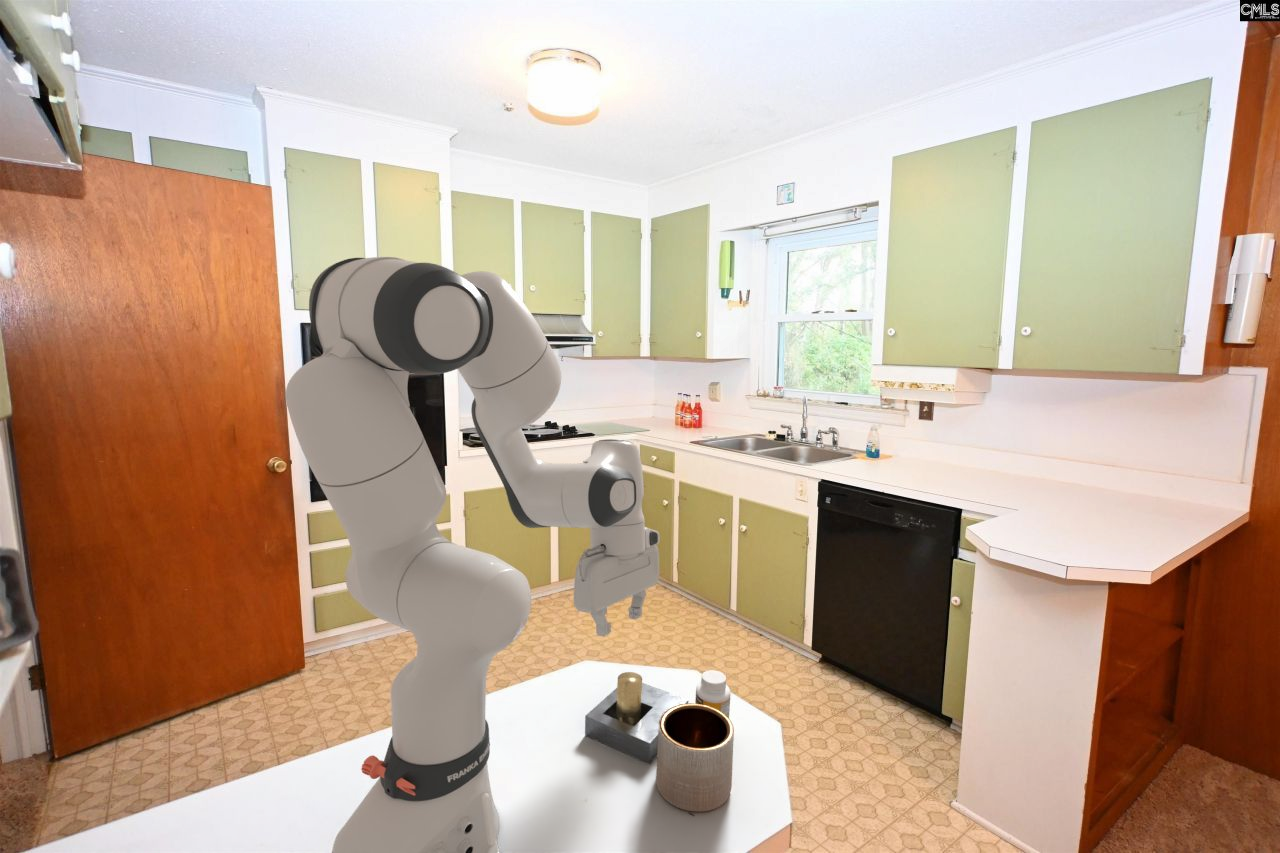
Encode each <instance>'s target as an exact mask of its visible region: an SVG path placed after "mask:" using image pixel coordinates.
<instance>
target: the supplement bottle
mask: <svg viewBox="0 0 1280 853" xmlns="http://www.w3.org/2000/svg"><path fill="white" fill-rule="evenodd" d="M694 704H702V705H707V706H710V707H713V708H715V709H717V710H719V711H721V712H722V713H724V714H725V715H726V716H727V717H728V718H729V719H730V710H731V708H730V707H731V689H730V687H729V686H728V685H727V676H726V674H725V673H723V672H721V671H719V670H714V669H713V670H711V669H709V670H706V671H704V672H703V673H702V675H701V680H700V682H699V683H698V684H697V685H696V689H695V702H694Z"/></svg>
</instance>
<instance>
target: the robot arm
mask: <svg viewBox="0 0 1280 853" xmlns="http://www.w3.org/2000/svg"><path fill="white" fill-rule="evenodd" d="M311 286H312V287H311V290H310V293H309V300H308V311H309V313H308V314H309V321H310V324H309V325H310V328H309V338H308V340H309V341H308V343H309V347H310V349H311V351H312V352H313V353H314V354H315V355H316V356H317V357H315V358H313V359H311V360H310V361H307V362H306V363H305V364H303V365H302V366H301V367H300V368H299V369H297V370H296V372H294V373H293V375H292V376H291V377H290V379H289V381H288V383H287V385H286V389H285V403H286V406H287V411H288V414H289V418H290V421H291V424H292V427H293V430H294V432H295V435H296V438H297V440H298V444H299V446H300V449H301V451H302V453H303V455H304V458H305V460H306V462H307V464H308V466H309V467H310V469H311V472H312V474H313V475H314V477H315V479H316V481H317V483H318V484H319V486H320V489H321V490H322V492H323V494H324V495H325V497H326V500H327V501H328V503H329V504H330V506H331V509H333V510H332V511H333V512H334V514H335V516H336V517H337V519H338V521H339V523H340V525H341V527H342V528H343V530H344V532H345V535H346V537H347V539H348V543H349V545H350V550H351V555H350V558H349V561H348V563H347V566H346V570H345V571H346V572H345V584H346V588H347V591H348V593H349V594H350V596H351V597H352V598H353V599H354V600H355V601H356V602H357V603H358V604H359V605H360V606H362V607H363V608H364V609H365V610H366V611H367V612H369V613H370V614H371V615H373V616H374V617H375V618H378V619H380V620H382V621H385V622H387V623H389V624H392V625H394V626H397V627H399V628H401V629H403V630H406V631H409V632H411V633H412V635H413V637H414V639H415V641H416V646H417V647H416V648H417V649H416V650H417V651H416V657H414V658H413V659H411V660H410V661H409V662H407V664H405V665H404V666H403V667H402V668H400V670H399V671H398V673H397V674H396V675H395V677H394V679H393V681H392V683H391V687H390V710H391V713H390V714H391V733H392V734H391V738H390V741H389V743H388V746H387V750H386V753H385V756H384V760H380V758H378V757H377V756H375V755H369V756H368V757H367V758H365V760H364V761H363V764H362V765H361V768H360V770H361V772H362V774H364V775H366V776H369V777H370V778H371V779H372V780H376V779H378V780H376V782H375V783H374V785H372V787H371V788H370V790H368V792H367V794H366V795H365V796H364V798H363V799H362V800H361V802H360V803H359V805H358V806H357V808H355V810H354V811H353V813H352V814H351V815H350V817H349V818H348V819H347V821H346V822H345V824H343V826H342V827H341V828H340V830H339V831H338V833H337V835H336V837H335V838H334V839H335V840H334V841H333V842H334V843H333V846H332V849H331V853H500V849H499V844H498V838H499V833H500V828H501V823H500V822H501V821H500V815H499V812H498V810H497V807H496V804H495V802H494V798H493V794H492V788H491V783H490V776H489V769H488V761H489V758H490V751H491V750H490V747H491V746H490V745H491V743H490V728H489V723H488V721H487V718H486V703H487V702H486V701H487V700H486V696H487V693H486V692H487V677H488V672H489V669H490V665H491V663H492V661H493V659H494V657H495V656H496V654H498V653H500V652H502V651H505V649H507V648H508V647H509V646H510V645H511V644H513V643H514V642H515V641H516V640H517V639H518V637H519V636H520V635H521V633H522V632H523V630H524V628H525V627H526V625H527V622H528V619H529V616H530V614H531V607H532V593H531V592H532V591H531V586H530V583H529V580H528V578H527V577H526V575H525V574H524V573H523V572H522V571H520V570H518V569H517V568H515V567H514V566H513V565H511V564H510V563H507V562H506V561H504V560H503V559H501V558H499V557H497V556H496V555H494V554H491V553H488V552H485V551H481V550H478V549H473V548H470V547H466V546H463V545H460V544H457V543H454V542H452V541H450V539H448V538H446V537H445V536H444V535H443V534H442V532H441V531H440V530H439V528H438V526H437V523H436V520H438V518H439V516H440V514H441V513H442V511H443V509H444V507H445V504H446V502H447V489H446V486H445V482H444V481H443V479H442V475H441V474H440V472H439V470H438V467H437V465H436V463H435V461H434V460H435V459H434V458H433V456H432V453H431V451H430V448H429V447H428V444H427V442H426V439H425V437H424V435H423V432H422V430H421V428H420V426H419V424H418V421H417V419H416V418H415V416H414V414H413V412H412V410H411V407H410V406H411V405H410V400H409V394H408V393H409V392H408V386H409V385H408V382H409V376H410V373H411V374H415V375H420V376H432V375H441V374H446V373H449V372H453V371H456V370H458V372H459V374H460V376H461V377H462V378H463V380H464V382H465V383H466V384H467V386H468V388H469V389H470V390H471V393H472V396H473V400H472V403H471V410H470V412H471V417H472V418H471V419H472V422H473V425H474V428H475V431H476V434H478V437H479V439H480V441H481V443H482V445H483V447H484V450H485V451H486V454H487V456H488V457H489V459H490V461H491V463H492V465H493V467H494V468H495V471H496V473H497V475H498V477H499V479H500V480H501V482H502V483H501V484H503V487H504V489H505V492H506V496H507V501H508V505H509V508H510V510H511V512H512V514H513V516H514V517H515V518H516V520H517V521H518V522H519V523H520V524H521V525H523V526H524V527H525V528H530V529H537V528H538V529H540V528H551V527H553V528H573V529H578V528H580V529H581V528H583V529H590V530H589V532H590V547H589V548H587V549H585V550H584V551H583V552H582V553H583V554H582V555H581V557H580V558H579V559H578V563H577V565H576V567H575V574H574V581H573V582H574V585H573V586H574V587H573V606H574V608H575V609H576V610H577V612H582V613H589V614H590V615H591V617H592V620H593V621H594V623H595V628H596V629H595V630H596V635H597V636H599V637H602V638H603V637H606V636H607V635H609V634H611V632H612V630H611V628H612V623H611V622H609V621H608V620H607V617H606V615H607V614H608V607H610V606H614V605H615V604H617V603H619V602H622V601H623V600H625V599H628V598H631V597H632V598H631V604H630V606H629V607H628V618H629V619H631V620H638V619H640V618H641V617H643V606H644V602H645V599H646V594H647V593H646V590H648V589H650V588H652V587H654V586H657V584H658V580H659V577H660V552H659V547H658V546H657V545H659V544H660V542H661V541H660V540H661V537H660V536H661V535H660V532H659V531H658V530H654V529H652V528H650V527H647V526H645V521H646V520H645V516H644V513H643V499H644V495H645V490H644V486H645V485H644V476H643V466H642V459H641V458H642V457H641V453H640V451H639V450H640V449H639V447H638V446H637V444H635V443H634V442H631V441H628V440H624V439H622V440H620V439H612V438H611V439H600V440H597V441H594V442H593V443H592V446H591V450H590V455H589V457H587V458H586V459H585V460H583V461H582V462H577V463H551V462H546V461H543V460H540V459H538V458H536V456H534V454H533V452H532V449H531V447H530V446H529V443H528V440H527V438H526V436H525V433H524V431H523V429H522V428H525V427H528V426H530V425H531V424H533V423H535V422H537V421H538V420H539V419H541V418H542V417H543V416H544V415H545V414H546V413H547V412H548V410H549V409H550V408H551V407H552V405H553V404H554V403H555V401H556V398H558V395H559V393H560V390H561V389H560V388H561V384H562V371H561V367H560V363H559V361H558V358H557V356H556V354H555V352H554V350H553V349H552V347H551V344H550V343H549V341H548V339H547V337H546V336H545V334H544V331H542V328H541V327H540V325H539V323H538V322H537V320H536V318H535V317H534V315H533V314H532V312H531V311H530V310H529V308H528V307H527V305H526V304H525V303H524V302H523V300H522V299H521V298H520V296H519V295H518V293H517V292H516V291H515V290H514V289H513V288H512V287H511V285H510V284H509V283H508V282H507V280H505V279H504V278H503V277H502V276H500V275H498V274H496V273H493V272H490V271H485V270H484V271H481V270H480V271H471V272H467V273H464V274H459V273H458V272H456V271H454V270H452V269H450V268H448V267H445V266H442V265H439V264H438V263H437V264H436V263H432V262H431V263H430V262H416V261H412V260H405V259H403V258H400V257H396V256H395V257H392V256H376V257H352V258H351V257H350V258H348V259H343V260H341V261H337V262H335V263H333V264H332V265H330V266H328V267H327V268H325V269H324V270H323V271H322V272H321V273H320V274H319V275H318V277H316V279H315V281H314V282H313V284H312V285H311ZM316 346H318V348H320V350H321V351H322V353H321V351H319V349H317V347H316Z"/></svg>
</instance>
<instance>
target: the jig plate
mask: <svg viewBox="0 0 1280 853" xmlns="http://www.w3.org/2000/svg"><path fill="white" fill-rule="evenodd" d="M681 704H689V699H687V698H685V697H682V696H679V695H676V694H674V693H672V692H669V691H665V690H662V689H660V688H657V687H655V686H652V685H650V684H647V683H644V682H642V696H641V717H640V721H639V722H638V723H637V724H636V725H635V727H634V726H631V725H629V724H627V723H624V722H622V721H619V720H617V719H616V706H617V687H616V688H614V690H612V691H611V692H610V693H609V694H608V695H607V696H606V697H605V698H604V699H603V700H601V701H600V702H599V703H598V704H597V705H596V706H594V707H593V708H592V709H591V710H590V711H589V712H588V713H587V714H585V717H584V725H585V726H584V735H585V737H587V738H590V739H591V740H594V741H597V743H601V744H603V745H604V746H607V747H609V748H612V749H614V750H616V751H619V752H621V753H623V754H625V755H627V756H630V757H632V758H634V759H637V760H639V761H641V762H643V763H645V764H647V765H650V764H651V763H652V762H653V761H654V760H655V758H657V751H658V729H659V720H660V718H661V716H662V714H663V713H664V712H665V711H667V710H668V709H670V708H672V707H674V706H677V705H681Z"/></svg>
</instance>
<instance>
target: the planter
mask: <svg viewBox="0 0 1280 853" xmlns="http://www.w3.org/2000/svg"><path fill="white" fill-rule="evenodd" d="M734 734H735V729H734V725H733V723H732V721H731V719H730V717H729V718H728V717H727V716H726V715H725V714H724V713H722V712H721V711H719V710H717V709H715V708H713V707H710V706H707V705H702V704H695V702H694V703H691V702H690V703H689V702H688V704H681V705H677V706H674V707H672V708H670V709H668V710H667V711H665V712H664V713H663V714H662V716H661V718H660V720H659V729H658V751H657V756H656V768H655V769H656V772H655V778H656V779H655V782H656V787H657V790H658V792H659V793H660V795H661V796H662V798H663V799H664V800H666V801H667V802H668V803H669V804H671V805H672V806H674V807H676V808H678V809H681V810H683V811H687V812H694V813H697V812H698V813H700V812H701V813H703V812H708V811H711V810H715V809H717V808H718V807H721V805H723V804H724V803H726V801H727V800H728V798H729V797H730V795H731V790H732V786H733V785H732V784H733V762H734V761H733V759H734V757H733V755H734V740H735V738H734V737H735V735H734Z"/></svg>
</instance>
